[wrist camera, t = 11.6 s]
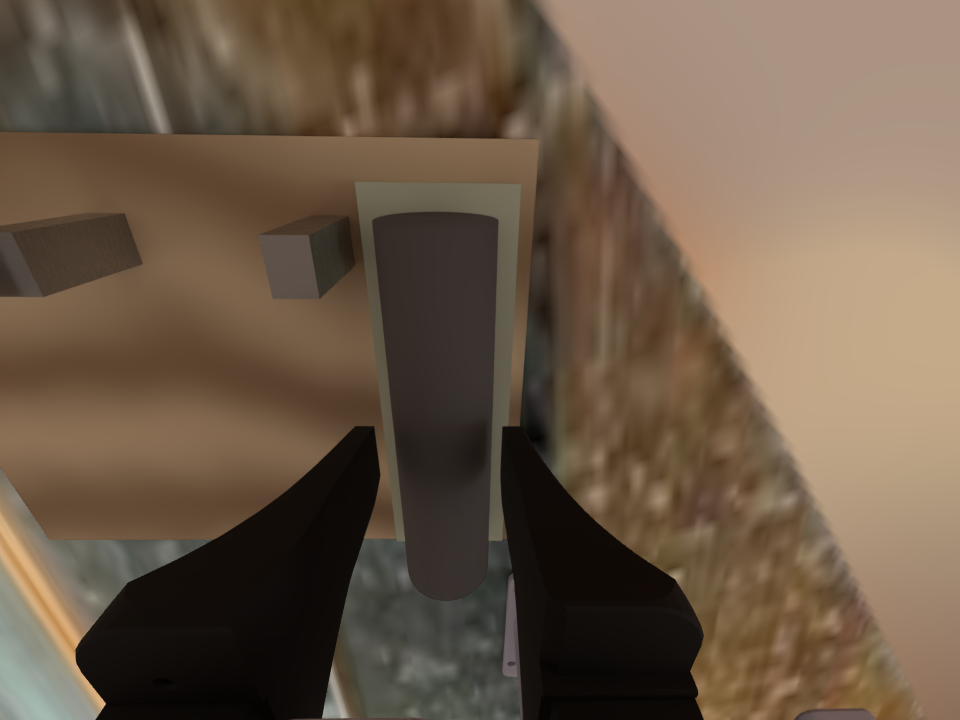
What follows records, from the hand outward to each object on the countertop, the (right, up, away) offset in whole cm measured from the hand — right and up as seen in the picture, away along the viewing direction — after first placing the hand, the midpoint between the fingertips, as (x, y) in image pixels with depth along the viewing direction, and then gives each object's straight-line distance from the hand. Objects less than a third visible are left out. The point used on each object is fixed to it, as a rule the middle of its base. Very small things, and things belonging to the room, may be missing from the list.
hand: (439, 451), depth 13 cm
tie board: (-8, +2, +3) cm, 9 cm away
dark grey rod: (0, +1, +3) cm, 3 cm away
